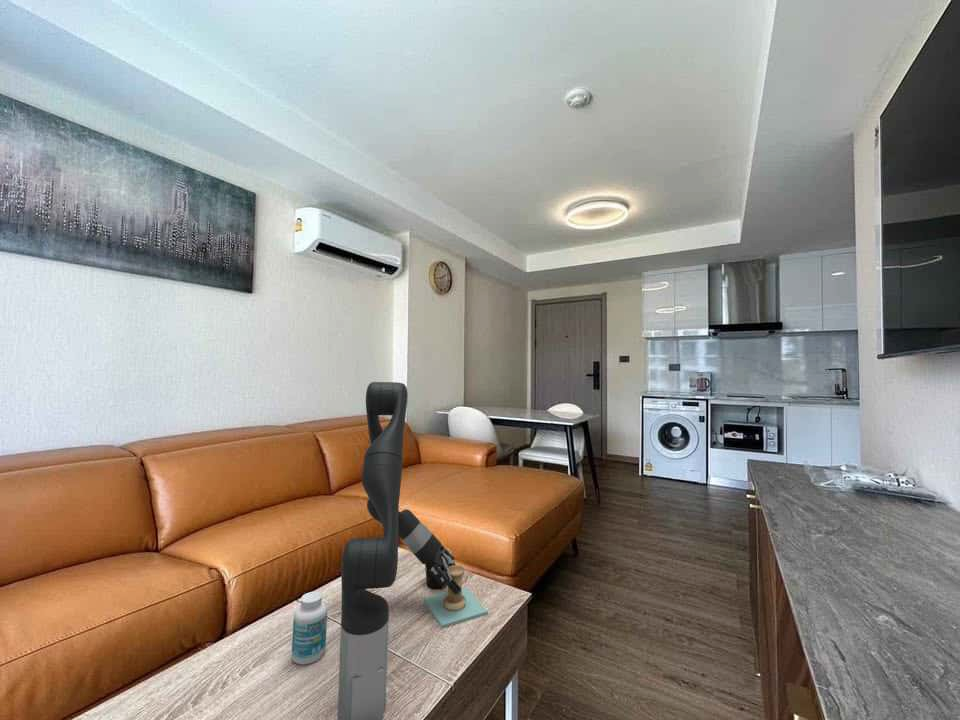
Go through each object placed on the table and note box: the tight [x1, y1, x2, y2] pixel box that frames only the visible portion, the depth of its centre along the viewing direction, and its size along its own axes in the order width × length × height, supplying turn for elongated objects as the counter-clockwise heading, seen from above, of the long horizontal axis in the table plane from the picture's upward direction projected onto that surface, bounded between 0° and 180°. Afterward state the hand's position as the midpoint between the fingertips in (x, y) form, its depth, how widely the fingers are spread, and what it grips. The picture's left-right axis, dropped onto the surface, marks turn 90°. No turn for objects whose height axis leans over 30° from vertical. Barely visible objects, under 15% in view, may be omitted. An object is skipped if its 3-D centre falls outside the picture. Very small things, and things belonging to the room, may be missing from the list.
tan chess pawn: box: [443, 564, 465, 611], centre depth 113 cm, size 6×6×10 cm
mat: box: [422, 586, 489, 629], centre depth 113 cm, size 14×14×1 cm
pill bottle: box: [291, 591, 328, 665], centre depth 93 cm, size 8×7×14 cm
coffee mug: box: [424, 547, 452, 591], centre depth 127 cm, size 12×9×10 cm
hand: (460, 583), depth 113 cm, fingers open, 8 cm apart
